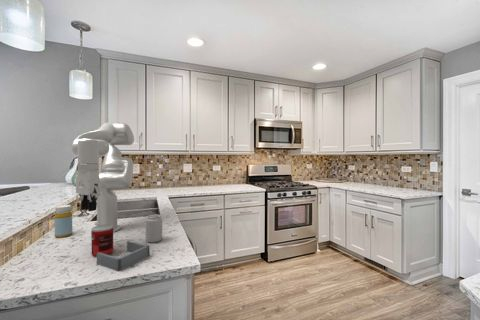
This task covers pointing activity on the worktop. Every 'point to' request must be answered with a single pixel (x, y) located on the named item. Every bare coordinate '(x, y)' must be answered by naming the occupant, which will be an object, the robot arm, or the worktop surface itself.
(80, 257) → the worktop surface
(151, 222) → the can
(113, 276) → the worktop surface
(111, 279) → the worktop surface
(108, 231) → the canned food
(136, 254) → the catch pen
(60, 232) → the bottle
